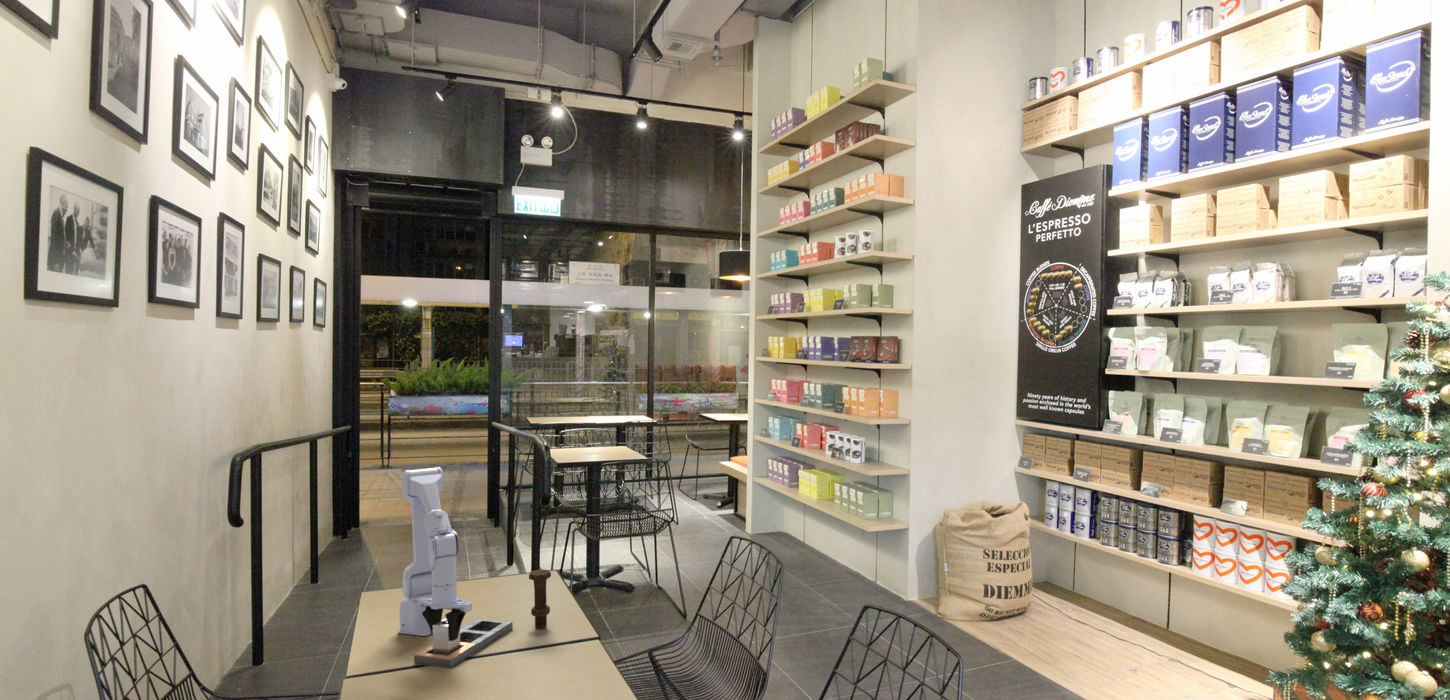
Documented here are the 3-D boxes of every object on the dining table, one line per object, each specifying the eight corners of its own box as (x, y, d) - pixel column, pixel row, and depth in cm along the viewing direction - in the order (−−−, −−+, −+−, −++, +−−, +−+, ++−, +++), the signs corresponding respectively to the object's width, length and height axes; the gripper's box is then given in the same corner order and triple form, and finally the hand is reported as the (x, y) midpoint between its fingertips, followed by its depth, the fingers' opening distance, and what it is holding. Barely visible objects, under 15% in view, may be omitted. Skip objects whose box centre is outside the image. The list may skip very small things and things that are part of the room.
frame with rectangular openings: (414, 663, 177) (414, 654, 177) (479, 625, 201) (479, 617, 201) (450, 668, 174) (450, 659, 174) (512, 629, 198) (512, 621, 198)
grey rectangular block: (433, 653, 179) (432, 624, 179) (445, 646, 183) (444, 617, 183) (448, 655, 178) (448, 626, 178) (460, 648, 182) (459, 619, 182)
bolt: (544, 631, 196) (543, 575, 196) (527, 630, 197) (526, 574, 197) (554, 623, 201) (553, 569, 202) (537, 622, 202) (536, 568, 203)
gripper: (408, 585, 178) (409, 641, 178) (458, 590, 174) (459, 647, 174) (428, 577, 185) (429, 630, 185) (477, 581, 181) (478, 636, 181)
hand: (445, 638), depth 180 cm, fingers closed on grey rectangular block, 4 cm apart
